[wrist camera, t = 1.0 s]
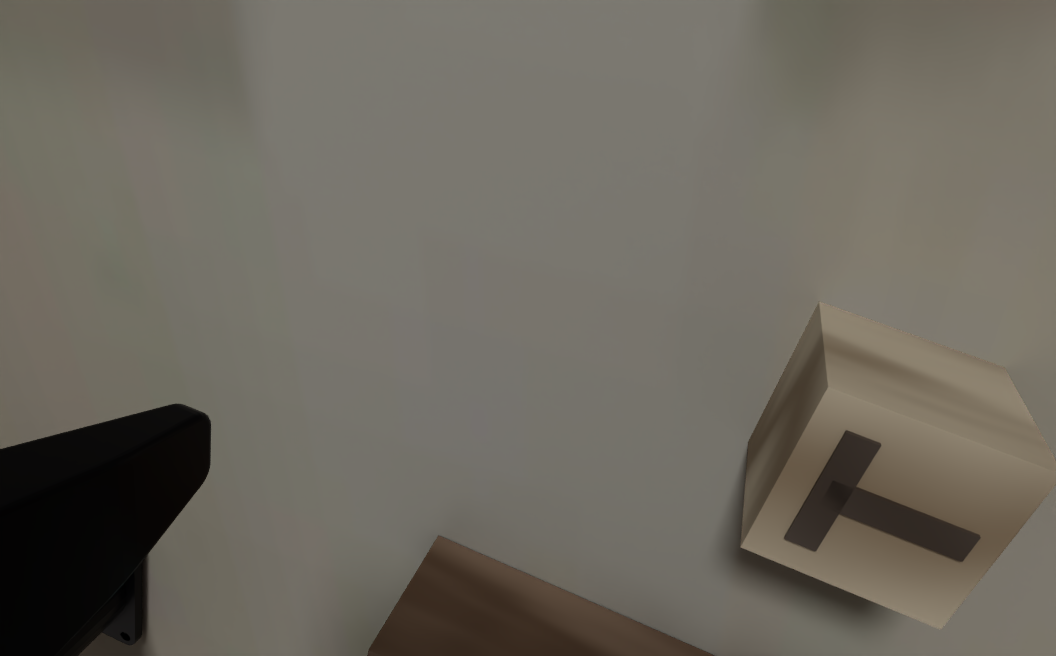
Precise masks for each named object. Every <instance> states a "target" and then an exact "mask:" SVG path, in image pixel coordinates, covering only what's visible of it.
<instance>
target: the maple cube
mask: <svg viewBox="0 0 1056 656" xmlns="http://www.w3.org/2000/svg"><path fill="white" fill-rule="evenodd" d="M1055 485H1056V460H1055V458H1054V457H1053V455H1052V453H1051V451H1050V449H1049V447H1048V446H1047V444H1046V442H1045V440H1044V438H1043V437H1042V435H1041V433H1040V431H1039V429H1038V428H1037V426H1036V424H1035V422H1034V420H1033V419H1032V417H1031V415H1030V413H1029V411H1028V409H1027V408H1026V406H1025V404H1024V402H1023V400H1022V399H1021V397H1020V395H1019V393H1018V391H1017V390H1016V388H1015V386H1014V384H1013V382H1012V381H1011V379H1010V377H1009V375H1008V373H1007V371H1006V370H1005V368H1004V367H1002V366H999V365H996V364H993V363H990V362H988V361H985V360H982V359H979V358H976V357H974V356H971V355H968V354H965V353H962V352H960V351H957V350H954V349H951V348H948V347H946V346H943V345H940V344H937V343H934V342H932V341H929V340H926V339H923V338H920V337H918V336H915V335H912V334H909V333H906V332H904V331H901V330H898V329H895V328H892V327H889V326H887V325H884V324H881V323H878V322H875V321H873V320H870V319H867V318H864V317H861V316H859V315H856V314H853V313H850V312H847V311H845V310H842V309H839V308H836V307H833V306H831V305H828V304H825V303H822V302H819V303H818V305H817V307H816V309H815V311H814V313H813V315H812V317H811V319H810V321H809V323H808V325H807V327H806V329H805V331H804V333H803V334H802V336H801V338H800V340H799V342H798V344H797V346H796V348H795V350H794V352H793V354H792V356H791V358H790V360H789V362H788V364H787V366H786V368H785V370H784V372H783V374H782V376H781V378H780V380H779V382H778V384H777V386H776V388H775V390H774V392H773V394H772V396H771V398H770V400H769V402H768V404H767V406H766V408H765V410H764V412H763V414H762V416H761V418H760V420H759V422H758V424H757V426H756V428H755V430H754V431H753V433H752V435H751V437H750V439H749V442H748V455H747V468H746V481H745V494H744V507H743V520H742V533H741V546H740V547H741V548H743V549H746V550H748V551H751V552H753V553H755V554H758V555H760V556H763V557H765V558H768V559H770V560H772V561H775V562H777V563H780V564H782V565H785V566H787V567H789V568H792V569H794V570H797V571H799V572H802V573H804V574H806V575H809V576H811V577H814V578H816V579H819V580H821V581H823V582H826V583H828V584H831V585H833V586H836V587H838V588H840V589H843V590H845V591H848V592H850V593H853V594H855V595H857V596H860V597H862V598H865V599H867V600H870V601H872V602H874V603H877V604H879V605H882V606H884V607H887V608H889V609H891V610H894V611H896V612H899V613H901V614H904V615H906V616H908V617H911V618H913V619H916V620H918V621H921V622H923V623H925V624H928V625H930V626H933V627H935V628H938V629H940V630H941V629H942V628H943V627H944V625H945V624H946V623H947V622H948V620H949V619H950V618H951V617H952V615H953V614H954V613H955V612H956V610H957V609H958V608H959V606H960V605H961V604H962V603H963V601H964V600H965V599H966V598H967V596H968V595H969V594H970V593H971V591H972V590H973V589H974V587H975V586H976V585H977V584H978V582H979V581H980V580H981V579H982V577H983V576H984V575H985V574H986V572H987V571H988V570H989V568H990V567H991V566H992V565H993V563H994V562H995V561H996V560H997V558H998V557H999V556H1000V555H1001V553H1002V552H1003V551H1004V549H1005V548H1006V547H1007V546H1008V544H1009V543H1010V542H1011V541H1012V539H1013V538H1014V537H1015V536H1016V534H1017V533H1018V532H1019V530H1020V529H1021V528H1022V527H1023V525H1024V524H1025V523H1026V522H1027V520H1028V519H1029V518H1030V517H1031V515H1032V514H1033V513H1034V511H1035V510H1036V509H1037V508H1038V506H1039V505H1040V504H1041V503H1042V501H1043V500H1044V499H1045V498H1046V496H1047V495H1048V494H1049V492H1050V491H1051V490H1052V489H1053V487H1054V486H1055Z"/></svg>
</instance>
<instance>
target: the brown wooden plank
mask: <svg viewBox="0 0 1056 656" xmlns="http://www.w3.org/2000/svg"><path fill="white" fill-rule="evenodd" d="M367 656H714V655H712V654H710V653H707V652H705V651H703V650H700V649H698V648H696V647H694V646H691V645H689V644H687V643H684V642H682V641H680V640H677V639H675V638H673V637H671V636H668V635H666V634H664V633H661V632H659V631H657V630H655V629H652V628H650V627H648V626H645V625H643V624H641V623H638V622H636V621H634V620H632V619H629V618H627V617H625V616H622V615H620V614H618V613H615V612H613V611H611V610H609V609H606V608H604V607H602V606H599V605H597V604H595V603H592V602H590V601H588V600H586V599H583V598H581V597H579V596H576V595H574V594H572V593H569V592H567V591H565V590H563V589H560V588H558V587H556V586H553V585H551V584H549V583H547V582H544V581H542V580H540V579H537V578H535V577H533V576H530V575H528V574H526V573H524V572H521V571H519V570H517V569H514V568H512V567H510V566H507V565H505V564H503V563H501V562H498V561H496V560H494V559H491V558H489V557H487V556H484V555H482V554H480V553H478V552H475V551H473V550H471V549H468V548H466V547H464V546H461V545H459V544H457V543H455V542H452V541H450V540H448V539H445V538H443V537H441V536H439V535H438V537H437V539H436V540H435V542H434V544H433V545H432V547H431V548H430V550H429V552H428V553H427V555H426V557H425V558H424V560H423V562H422V563H421V565H420V567H419V568H418V570H417V571H416V573H415V575H414V576H413V578H412V580H411V581H410V583H409V585H408V586H407V588H406V589H405V591H404V593H403V594H402V596H401V598H400V599H399V601H398V603H397V604H396V606H395V607H394V609H393V611H392V612H391V614H390V616H389V617H388V619H387V621H386V622H385V624H384V625H383V627H382V629H381V630H380V632H379V634H378V635H377V637H376V639H375V640H374V642H373V643H372V645H371V647H370V648H369V651H368V655H367Z"/></svg>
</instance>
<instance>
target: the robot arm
mask: <svg viewBox="0 0 1056 656" xmlns="http://www.w3.org/2000/svg"><path fill="white" fill-rule="evenodd" d="M210 456H211V421H210V419H209V417H208V415H206V414H205V413H203V412H201V411H198V410H196V409H193V408H191V407H188V406H186V405H183V404H172V405H168V406H164V407H160V408H156V409H152V410H148V411H145V412H141V413H137V414H133V415H129V416H125V417H122V418H118V419H114V420H110V421H106V422H102V423H99V424H95V425H91V426H87V427H83V428H79V429H76V430H72V431H68V432H64V433H60V434H56V435H53V436H49V437H45V438H41V439H37V440H33V441H30V442H26V443H22V444H18V445H14V446H10V447H7V448H3V449H0V656H78V655H79V654H80V653H81V652H82V651H83V650H84V649H85V648H86V647H87V646H88V645H89V644H90V643H91V642H92V641H93V640H94V639H95V638H96V637H97V636H98V635H99V634H100V633H104V634H106V635H108V636H110V637H113V638H115V639H117V640H119V641H121V642H123V643H125V644H127V645H133V644H135V643H136V641H137V640H138V639H139V638H140V637H141V635H142V561H143V560H144V558H145V557H146V556H147V554H148V553H149V552H150V551H151V549H152V548H153V547H154V545H155V544H156V543H157V542H158V540H159V539H160V538H161V537H162V535H163V534H164V533H165V531H166V530H167V529H168V528H169V526H170V525H171V524H172V522H173V521H174V520H175V519H176V517H177V516H178V515H179V513H180V512H181V511H182V510H183V508H184V507H185V506H186V504H187V503H188V502H189V501H190V499H191V498H192V497H193V495H194V494H195V493H196V492H197V490H198V489H199V488H200V487H201V485H202V484H203V482H204V481H205V479H206V477H207V475H208V472H209V468H210Z"/></svg>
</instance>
